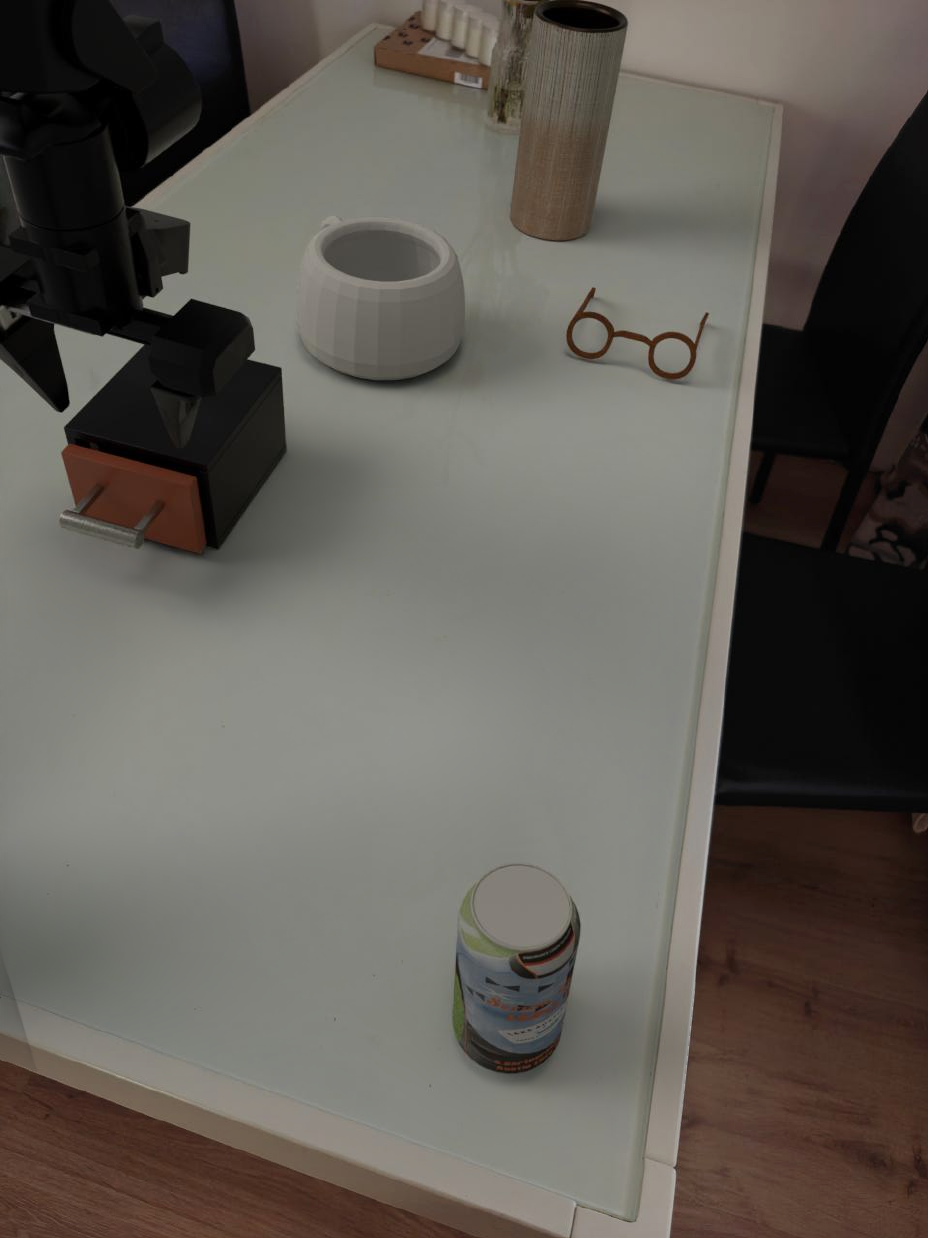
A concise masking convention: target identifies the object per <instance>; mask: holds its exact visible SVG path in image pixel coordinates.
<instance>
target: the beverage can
mask: <svg viewBox="0 0 928 1238" xmlns="http://www.w3.org/2000/svg"><path fill="white" fill-rule="evenodd" d="M579 913H580V912H579V911H578V908H577V905H576V903H575V902H574V900H573V898H572V896H571V895H570V893H569V891H568V890H567V888H566V886H565V885H564V883H563V882H562V881H561V880H560V879H559V878H558V877H557V876H556V875H555V874H553V873H552V872H551V871H549V870H547V869H545V868H543V867H541V866H538V865H535V864H531V863H525V862H512V863H504V864H502V865H499V866H496V867H494V868H492V869H491V870H488V871H487V872H486V873H485V874H483V875H482V877H480V879H479V880H477V882H476V883H475V884H473V885H472V887H470V889H469V890H468V891H467V893H466V894H465V896H464V897H463V899H462V902H461V904H460V906H459V910H458V917H457V931H456V947H455V949H456V950H455V965H454V982H453V999H452V1000H453V1001H452V1029H453V1033H454V1036H455V1038H456V1041H457V1043H458V1044H459V1047H460V1048H461V1049H462V1051H463V1053H465V1054H466V1055H467V1056H468V1057H469V1059H471V1060H472V1061H473V1062H474V1063H476V1064H477V1065H479V1066H480V1067H482V1068H484V1069H486V1070H489V1071H492V1072H494V1073H497V1074H506V1075H510V1074H511V1075H512V1074H514V1075H515V1074H522V1073H527V1072H530V1071H531V1070H533V1069H536V1068H537V1067H539V1066H540V1065H542V1064H544V1063H545V1062H546V1061H547V1060H549V1058H550V1057H551V1056H552V1055H553V1053H554V1052H555V1051H556V1049H557V1047H558V1045H559V1042H560V1041H561V1036H562V1032H563V1027H564V1022H565V1016H566V1013H567V1012H566V1011H567V1006H568V1002H569V996H570V992H571V986H572V981H573V975H574V970H575V965H576V959H577V954H578V949H579V945H580V938H581V931H582V930H581V929H582V928H581V927H582V925H581V918H580V914H579Z"/></svg>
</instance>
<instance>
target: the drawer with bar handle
mask: <svg viewBox="0 0 928 1238" xmlns="http://www.w3.org/2000/svg"><path fill="white" fill-rule="evenodd" d="M89 444H90V448H91V449H89V448H85V447H81V446H77V445H74V444H68V443H67V445H66V446H65V447H64V449H62V450H61V452H60V455H61V457H62V461H63V466H64V469H65V473H66V476H67V481H68V485H69V488H70V491H71V495H72V498H73V501H74V504H75V507H74V508H73V509H72V510H69V509H65V510H64V511H63V512H62V513H61V514H60V516H59V521H58V522H59V527H60V528H61V529H63V530H66V531H70V532H75V533H78V534H81V535H85V536H88V537H92V538H96V539H100V540H103V541H105V542H106V541H107V542H110V543H114V544H117V545H122V546H124V547H128V548H132V549H136V550H139V549H141V548H142V547H143V544H144V541H145V540H150V541H153V542H157V543H161V544H164V545H168V546H172V547H174V548H179V549H182V550H186V551H190V552H194V553H197V554H201V553H202V551H203V550H204V549H205V547H206V544H207V542H206V536H205V529H204V528H206V520H205V513H204V507H203V500H202V493H201V486H200V479H199V473H198V470H194V469H191V468H187V467H183V466H179V465H175V464H172V463H168V462H164V461H160V460H156V459H153V458H149V457H145V456H141V455H137V454H134V453H130V452H126V451H122V450H118V449H115V448H111V447H107V446H103V445H99V444H96V443H92V442H89Z"/></svg>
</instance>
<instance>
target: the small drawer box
mask: <svg viewBox="0 0 928 1238" xmlns="http://www.w3.org/2000/svg"><path fill="white" fill-rule="evenodd" d="M149 350H150V346H147V345H144V344H143V345H142V346H141V348H139V349H138V350H137V351H136V352H135V354H134V355H132V357H131V358H129V360H128V361H126V363H125V364H124V365H123V366H121V368H119V370H118V371H117V372H116V373H115V374H114V375H113V376H112V377H111V378H110V379H109V380H108V381H107V382H106V383H105V385H103V387H101V389H100V390H98V391H97V392H96V393H95V394H94V396H93V397H92V398H91V399H90V400H89V401H88V402H86V404H85V405H84V406H83V407H81V409H80V410H79V411H78V412H77V413H76V414H75V415H74V416H73V417H72V418H71V419H70V420H69V421H68V422H67V423H66V424H65V425H64V426H63V430H64V435H65V439H66V442H67V445H68V444H74V445H77V446H81V447H85V448H89V449H91V448H90V444H89V442H92V443H96V444H99V445H103V446H107V447H111V448H115V449H118V450H122V451H126V452H130V453H134V454H137V455H141V456H145V457H149V458H153V459H156V460H160V461H164V462H168V463H172V464H175V465H179V466H183V467H187V468H191V469H194V470H198V473H199V479H200V486H201V493H202V500H203V507H204V513H205V520H206V528H204V529H205V536H206V542H207V544H206V546H205V547H207V548H210V549H214V550H217V551H218V550H219V549H220V548H221V546H222V545H223V544H224V542H225V541H226V539H227V538H228V536H229V535H230V534H231V532H232V531H233V530H234V528H235V527H236V525H237V524H238V522H239V520H240V519H241V518H242V517H243V515H244V513H245V512H246V510H247V509H248V508H249V506H250V505H251V503H252V502H253V500H254V499H255V498H256V496H257V495H258V493H259V491H260V490H261V489H262V487H263V486H264V484H265V483H266V481H267V480H268V479H269V477H270V476H271V474H272V473H273V472H274V470H275V469H276V467H277V466H278V464H279V463H280V462H281V460H282V459H283V457H284V456H285V454H286V453H287V451H288V450H287V434H286V433H287V432H286V417H285V403H284V401H285V399H284V386H283V385H284V384H283V370H282V369H283V368H282V367H281V366H278V365H277V366H276V365H273V364H269V363H265V362H262V361H261V362H260V361H256V360H252V359H249V358H248V359H247V360H246V361H245V362H244V363H243V365H242V366H241V367H240V368H239V369H238V370H237V371H236V373H235V374H234V375H233V376H232V377H231V378H230V379H229V380H228V382H227V383H226V384H225V385H224V386H223V387H222V388H221V390H220V391H219V392H218V393H217V394H216V395H213V396H209V397H204V398H202V397H201V401H200V404H199V408H198V412H197V415H196V419H195V422H194V426H193V429H192V433H191V437H190V440H189V442H188V443H187V444H186V446H185V447H184V448H183V449H178V448H176V446H175V444H174V443H173V441H172V439H171V438H170V436H169V433H168V431H167V428H166V426H165V423H164V421H163V418H162V416H161V413H160V411H159V408H158V406H157V403H156V401H155V398H154V396H153V393H152V391H151V388H150V386H151V385H152V384H153V383H154V382H155V381H156V380H157V378H156V377H155V376H154V375H153V374H152V373H151V372H150V367H149V362H148V353H149Z"/></svg>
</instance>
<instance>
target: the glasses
mask: <svg viewBox="0 0 928 1238" xmlns="http://www.w3.org/2000/svg"><path fill="white" fill-rule="evenodd" d="M595 294H596V287H595V286H592V287H591V288H590V290H589V292H588V293H587V295H586V297H585V299H584V301H583V302H582V303H581V305H580V307H579V308H578V309H577V311H576V313H574V316H573V317H572V318H571V320H570V322H569V323H568V325H567V329H566V334H565V337H566V339H565V340H566V343H567V346H568V349H569V350H570V351H571V352H572V353H573V354H574V355H576V356H578V357H579V358H581V359H585V360H597V359H600V358H602V357H603V356H605V355H606V354H607V352H608V351H609V350H610V347H611V345H612V344H613V340H614V338H624V339H628V340H631V341H636V342H641V343H644V344H645V345H647V346H648V355H647V361H648V366H649V369H650V370H651V372H653V374H655V375H656V376H658V377H660V378H662V379H665V380H673V381H674V380H680V379H683V378H684V377H686V376H687V375H689V374H690V373H691V371H692V370H693V368H694V366H695V363H696V360H697V350H698V347H699V343H700V340H701V337H702V334H703V330H704V328H705V325H706V322H707V320H708V318H709V315H710V312H707V311H706V312H705V313H704V315H703V317H702V318H701V320H700V322H699V325H700V326H699V329H698V331H697V335H696V338H695V341H693V340H692V338H690V336H688V335H686V334H684V333H681V332H677V331H666V332H662V333H660V334H658V335H656V336H654V337H653V338H652V340H651V339H650V338H649V337H648V336H646V335H644V334H641V333H638V332H637V333H636V332H632V331H629V330H624V329H623V330H622V329H621V330H617V331H616V330H615V328H614V326H613V323H611V321H610V320H609V319H608V318H607V317H606V316H605V315H603V314H601V313H599V312H596V311H585V310H586V308H587V307H588V305H589V303H590V301H591V299H594V296H595ZM584 319H593V320H596V321H598V322H600V323H601V324H602V325H603V326H604V328H605V329H606V333H607V339H606V342H605V344H604V346H603V347H602V348H601V349H599V350H598V351H596V352H587V351H584V350H582V349H580V348H578V346H577V345H576V344H575V343H574V339H573V332H574V328H575V326H576V324H577V323H578V322H580V321H581V320H584ZM668 339H674V340H675V339H676V340H679V341H681V342H683V343H684V344H685V345H686V346H687V347H688V350H689V353H690V356H689V360H688V364H687V366H686V367H684V369H682V370H680V371H678V372H667V371H664V370H662V369H661V368H660V367H659V366H658V365H657V364H656V362H655V350H656V347H657V345H658V344H659V343H661V342H662V341H664V340H668Z"/></svg>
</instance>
